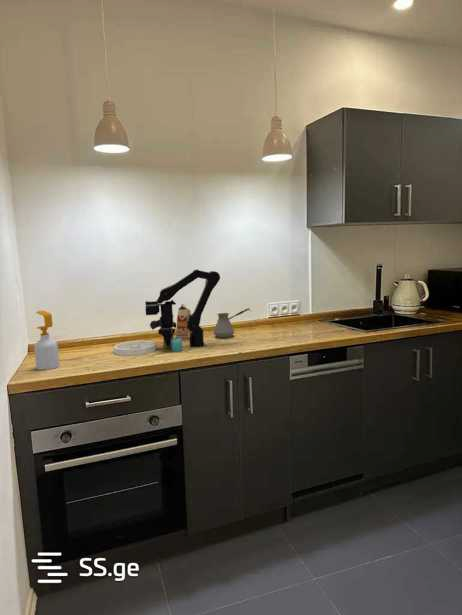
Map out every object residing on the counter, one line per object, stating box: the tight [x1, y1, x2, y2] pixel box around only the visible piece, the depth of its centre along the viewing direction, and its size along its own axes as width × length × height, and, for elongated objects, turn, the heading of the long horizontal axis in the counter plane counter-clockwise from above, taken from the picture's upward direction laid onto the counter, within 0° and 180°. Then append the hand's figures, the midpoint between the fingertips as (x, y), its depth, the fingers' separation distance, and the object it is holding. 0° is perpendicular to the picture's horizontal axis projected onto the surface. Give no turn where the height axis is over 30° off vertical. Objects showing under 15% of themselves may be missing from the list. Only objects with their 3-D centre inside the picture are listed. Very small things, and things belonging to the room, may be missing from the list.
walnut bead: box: [162, 335, 174, 350], centre depth 201 cm, size 5×5×6 cm
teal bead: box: [171, 337, 183, 353], centre depth 194 cm, size 5×5×6 cm
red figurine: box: [174, 303, 192, 342], centre depth 219 cm, size 9×9×20 cm
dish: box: [113, 340, 158, 357], centre depth 199 cm, size 20×20×3 cm
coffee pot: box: [213, 307, 251, 339], centre depth 223 cm, size 21×12×15 cm, turn 103°
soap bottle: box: [33, 310, 60, 371], centre depth 173 cm, size 9×9×25 cm
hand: (168, 344), depth 201 cm, fingers closed on walnut bead, 5 cm apart
